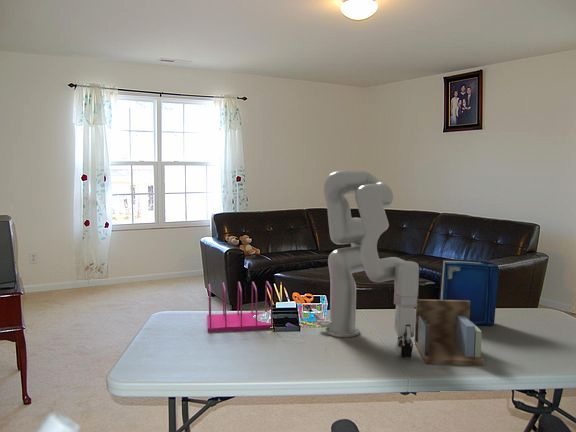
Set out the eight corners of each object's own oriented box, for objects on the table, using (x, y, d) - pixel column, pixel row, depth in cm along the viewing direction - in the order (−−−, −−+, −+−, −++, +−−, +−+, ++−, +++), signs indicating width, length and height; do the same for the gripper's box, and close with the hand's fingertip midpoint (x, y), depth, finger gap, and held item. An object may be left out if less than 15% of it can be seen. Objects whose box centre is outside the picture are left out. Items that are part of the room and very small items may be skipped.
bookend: (424, 355, 158) (425, 325, 157) (417, 343, 169) (418, 314, 168) (428, 355, 158) (429, 325, 157) (421, 343, 169) (422, 315, 168)
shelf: (425, 363, 155) (427, 314, 154) (414, 344, 173) (415, 299, 171) (483, 365, 154) (486, 315, 153) (467, 345, 172) (469, 300, 170)
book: (492, 321, 199) (495, 260, 197) (498, 327, 192) (501, 263, 190) (437, 319, 201) (439, 258, 199) (440, 324, 194) (443, 262, 192)
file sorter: (274, 329, 188) (274, 288, 186) (207, 332, 183) (207, 291, 182) (268, 315, 205) (268, 278, 203) (206, 318, 200) (206, 280, 199)
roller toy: (414, 354, 163) (415, 337, 162) (407, 361, 158) (408, 343, 157) (401, 351, 165) (402, 335, 165) (394, 357, 160) (395, 340, 160)
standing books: (465, 356, 157) (466, 326, 156) (455, 344, 168) (457, 315, 167) (480, 357, 157) (481, 326, 156) (469, 344, 168) (471, 316, 167)
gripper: (390, 292, 169) (388, 343, 170) (398, 306, 151) (396, 363, 153) (412, 293, 168) (411, 344, 170) (423, 307, 151) (421, 364, 153)
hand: (404, 352), depth 162 cm, fingers closed on roller toy, 6 cm apart
